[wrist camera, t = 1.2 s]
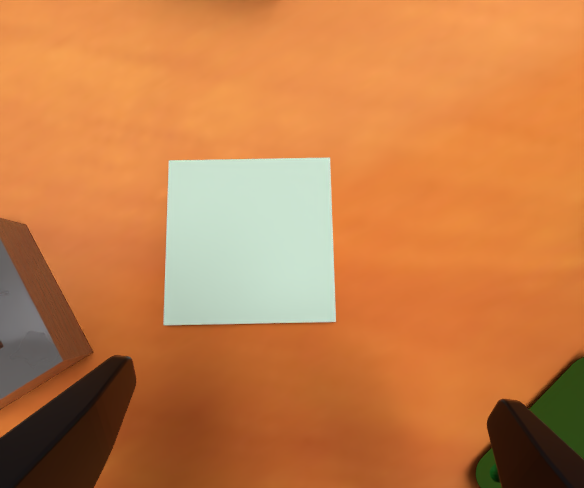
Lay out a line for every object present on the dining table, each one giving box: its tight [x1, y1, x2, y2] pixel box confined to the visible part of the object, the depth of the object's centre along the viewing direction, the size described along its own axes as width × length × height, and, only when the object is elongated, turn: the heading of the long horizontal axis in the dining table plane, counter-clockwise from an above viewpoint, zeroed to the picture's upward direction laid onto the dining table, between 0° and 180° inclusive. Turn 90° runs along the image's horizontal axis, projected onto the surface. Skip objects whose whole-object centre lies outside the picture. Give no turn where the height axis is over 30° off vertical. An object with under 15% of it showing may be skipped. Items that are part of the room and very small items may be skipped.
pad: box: [164, 158, 336, 325], centre depth 23 cm, size 11×11×1 cm
